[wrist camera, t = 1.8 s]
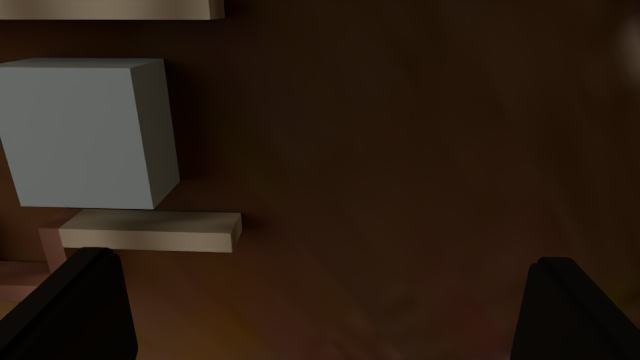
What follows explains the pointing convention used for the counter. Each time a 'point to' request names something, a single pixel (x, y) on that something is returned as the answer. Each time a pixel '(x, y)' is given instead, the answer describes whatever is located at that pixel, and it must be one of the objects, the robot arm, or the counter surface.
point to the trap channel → (116, 225)
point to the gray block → (88, 132)
